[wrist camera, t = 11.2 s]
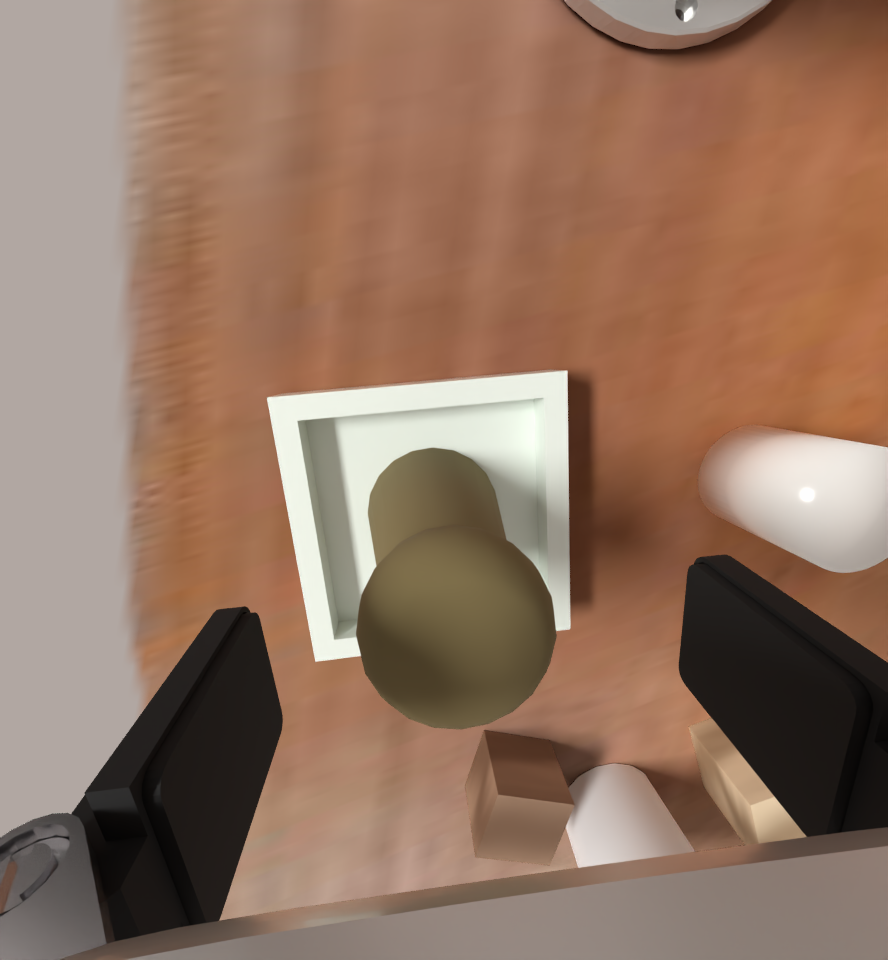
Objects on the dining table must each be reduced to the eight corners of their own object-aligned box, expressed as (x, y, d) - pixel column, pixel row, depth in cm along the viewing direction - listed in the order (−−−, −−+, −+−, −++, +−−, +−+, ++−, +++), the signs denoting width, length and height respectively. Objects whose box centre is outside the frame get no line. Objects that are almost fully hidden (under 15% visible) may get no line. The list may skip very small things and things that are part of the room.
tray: (282, 393, 20) (266, 397, 17) (549, 369, 20) (567, 370, 18) (324, 632, 23) (315, 661, 21) (554, 603, 24) (570, 629, 21)
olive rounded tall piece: (515, 469, 21) (633, 582, 10) (473, 584, 22) (539, 791, 11) (388, 430, 20) (372, 510, 9) (352, 553, 21) (300, 748, 10)
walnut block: (483, 728, 25) (498, 794, 22) (549, 739, 26) (574, 804, 22) (464, 784, 26) (475, 857, 22) (528, 793, 27) (549, 865, 23)
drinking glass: (588, 744, 26) (696, 966, 17) (679, 775, 27) (829, 998, 18) (535, 828, 27) (606, 1079, 18) (625, 853, 29) (737, 1102, 19)
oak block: (687, 725, 27) (750, 805, 22) (766, 696, 27) (847, 769, 22) (702, 786, 28) (765, 874, 23) (778, 758, 28) (857, 840, 23)
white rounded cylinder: (701, 429, 22) (807, 454, 16) (797, 420, 22) (936, 440, 16) (694, 525, 23) (791, 579, 17) (786, 515, 24) (911, 565, 18)
